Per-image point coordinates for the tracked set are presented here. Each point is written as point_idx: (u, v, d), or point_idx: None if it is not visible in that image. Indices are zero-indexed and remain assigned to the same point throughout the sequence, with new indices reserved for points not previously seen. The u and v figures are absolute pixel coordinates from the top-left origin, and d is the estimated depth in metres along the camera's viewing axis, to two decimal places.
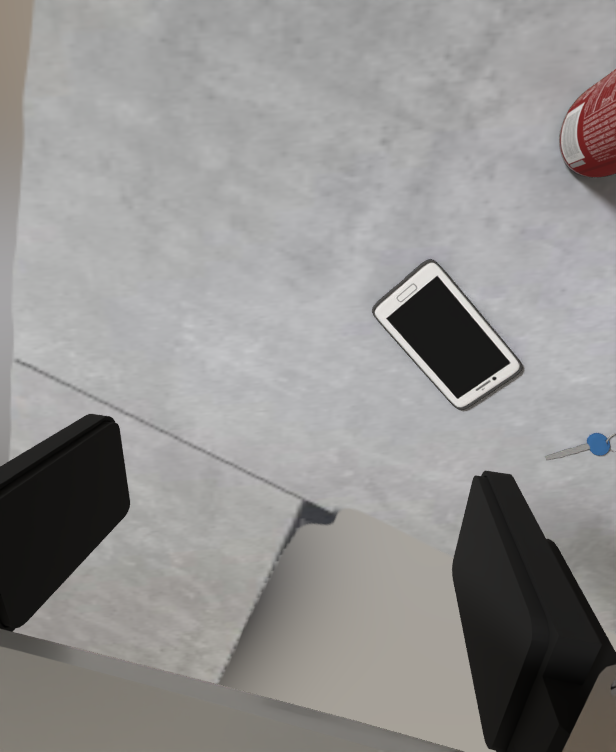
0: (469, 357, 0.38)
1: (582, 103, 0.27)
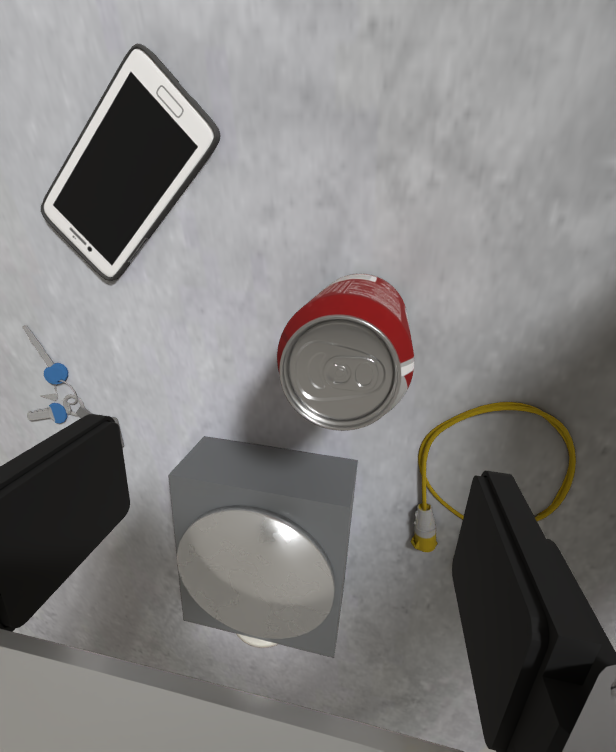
0: (106, 212, 0.29)
1: (376, 281, 0.23)
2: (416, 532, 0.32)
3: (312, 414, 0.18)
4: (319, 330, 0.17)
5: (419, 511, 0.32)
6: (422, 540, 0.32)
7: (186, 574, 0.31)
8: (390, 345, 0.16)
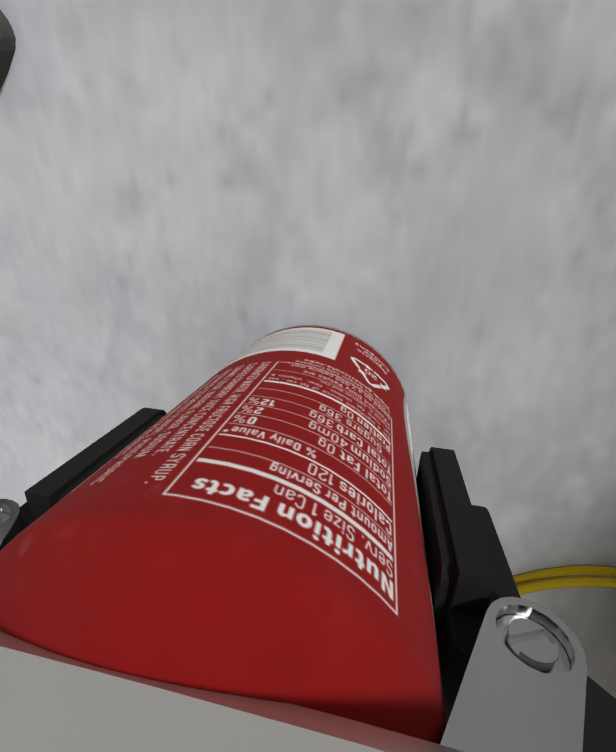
0: None
1: (337, 355, 0.10)
2: None
3: None
4: None
5: None
6: None
7: None
8: None
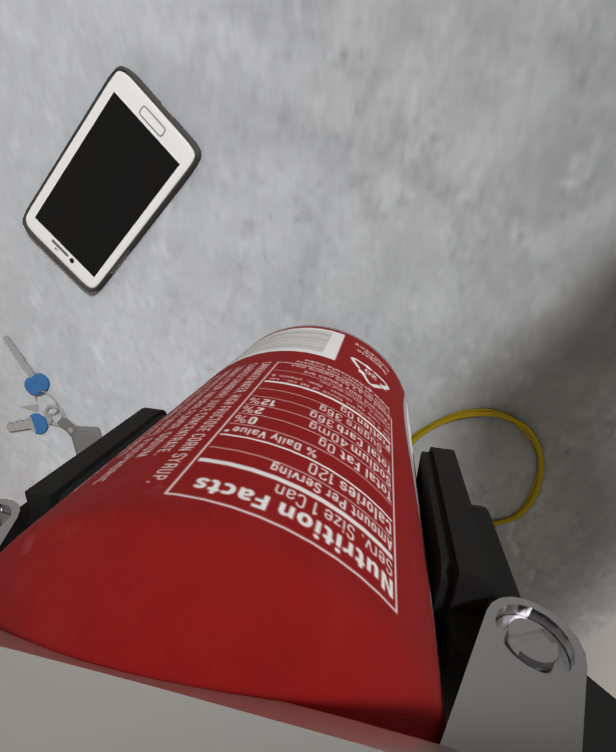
0: (88, 225, 0.29)
1: (337, 356, 0.10)
2: None
3: None
4: None
5: None
6: None
7: None
8: None
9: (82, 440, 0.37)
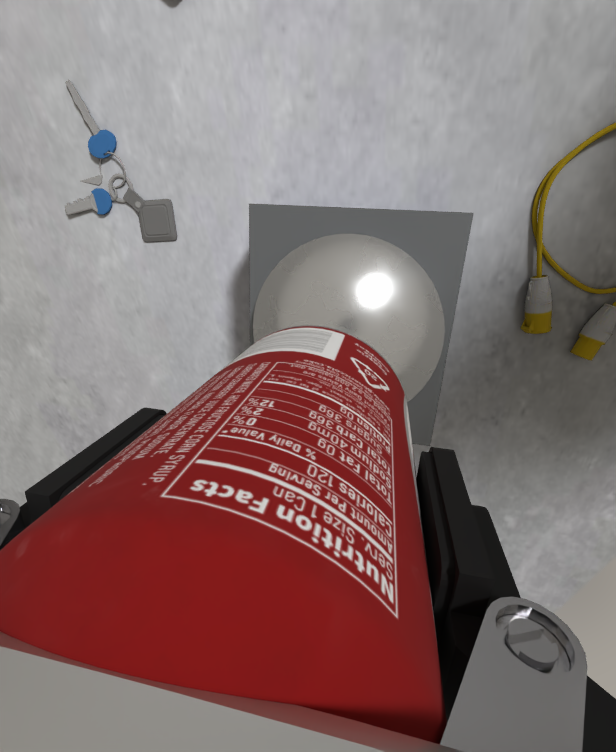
0: None
1: (337, 356, 0.10)
2: (529, 310, 0.29)
3: None
4: None
5: (534, 280, 0.28)
6: (538, 317, 0.28)
7: None
8: None
9: (151, 217, 0.32)
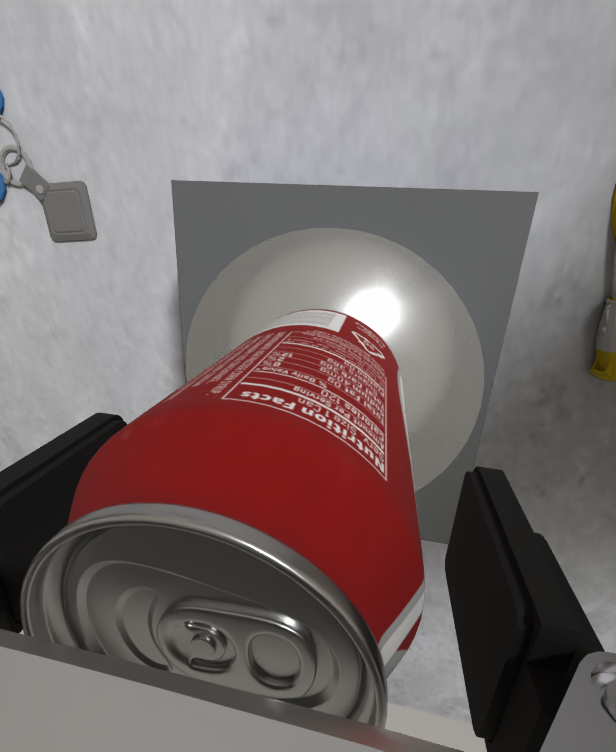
0: None
1: (340, 329, 0.12)
2: (606, 347, 0.19)
3: None
4: (123, 534, 0.05)
5: (614, 304, 0.19)
6: None
7: None
8: (346, 625, 0.04)
9: (59, 207, 0.23)
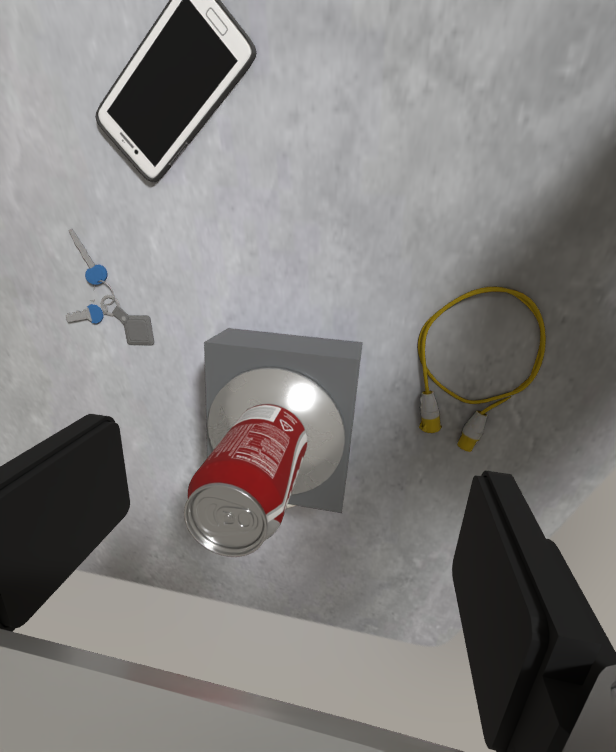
0: (154, 118, 0.34)
1: (274, 420, 0.31)
2: (423, 416, 0.38)
3: (210, 543, 0.25)
4: (210, 490, 0.24)
5: (423, 396, 0.38)
6: (428, 422, 0.38)
7: (216, 436, 0.36)
8: (256, 506, 0.23)
9: (134, 328, 0.41)
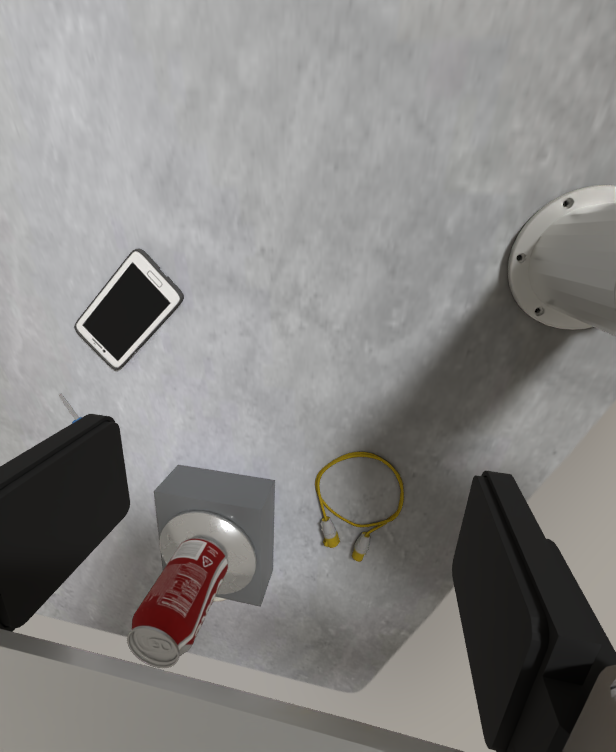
0: (115, 331, 0.47)
1: (198, 557, 0.44)
2: (324, 535, 0.51)
3: (146, 658, 0.39)
4: (142, 628, 0.37)
5: (322, 522, 0.51)
6: (327, 540, 0.51)
7: (166, 553, 0.50)
8: (170, 641, 0.36)
9: None
